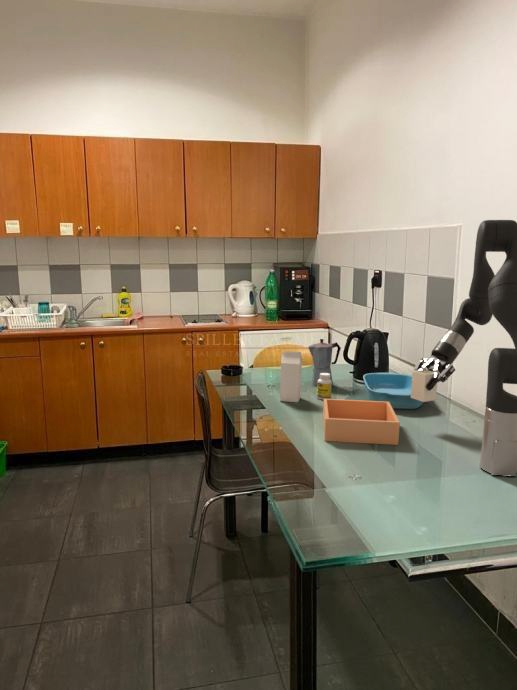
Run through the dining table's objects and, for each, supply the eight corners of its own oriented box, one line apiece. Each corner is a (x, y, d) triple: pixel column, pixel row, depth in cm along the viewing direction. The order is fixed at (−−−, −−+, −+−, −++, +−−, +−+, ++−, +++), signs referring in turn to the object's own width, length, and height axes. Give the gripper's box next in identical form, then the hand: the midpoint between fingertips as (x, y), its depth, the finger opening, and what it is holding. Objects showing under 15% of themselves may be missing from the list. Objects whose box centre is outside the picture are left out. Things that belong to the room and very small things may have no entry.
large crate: (398, 444, 161) (399, 422, 159) (324, 440, 163) (325, 418, 161) (387, 421, 182) (389, 401, 181) (322, 418, 184) (323, 398, 183)
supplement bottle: (314, 398, 207) (315, 374, 206) (319, 395, 212) (321, 371, 210) (328, 401, 205) (329, 376, 203) (332, 397, 210) (334, 373, 208)
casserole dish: (359, 386, 229) (360, 369, 228) (413, 388, 227) (414, 372, 226) (368, 412, 193) (369, 393, 192) (431, 415, 191) (433, 396, 190)
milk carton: (298, 402, 202) (300, 353, 198) (279, 401, 203) (281, 352, 200) (300, 397, 209) (302, 350, 205) (282, 396, 210) (284, 349, 206)
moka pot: (301, 383, 230) (303, 337, 226) (331, 380, 237) (334, 336, 233) (312, 389, 222) (314, 341, 218) (344, 385, 228) (346, 339, 224)
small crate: (422, 395, 178) (424, 369, 177) (435, 399, 173) (438, 372, 172) (410, 397, 175) (412, 371, 174) (423, 402, 171) (425, 374, 169)
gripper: (427, 337, 181) (398, 374, 177) (461, 344, 169) (432, 384, 165) (436, 351, 185) (409, 388, 181) (471, 359, 172) (442, 399, 168)
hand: (420, 386), depth 173 cm, fingers closed on small crate, 5 cm apart
